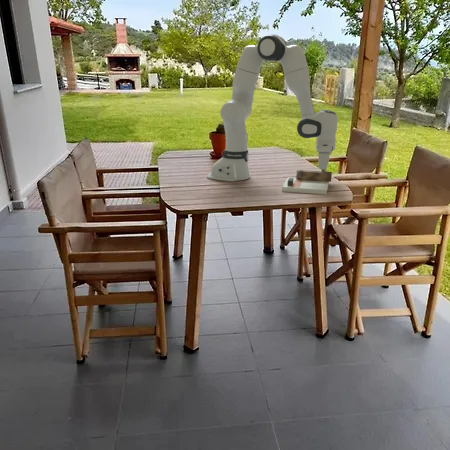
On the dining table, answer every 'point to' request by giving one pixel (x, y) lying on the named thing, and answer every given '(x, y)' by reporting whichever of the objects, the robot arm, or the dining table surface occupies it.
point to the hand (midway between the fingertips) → (323, 174)
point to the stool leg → (314, 175)
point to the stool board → (305, 186)
